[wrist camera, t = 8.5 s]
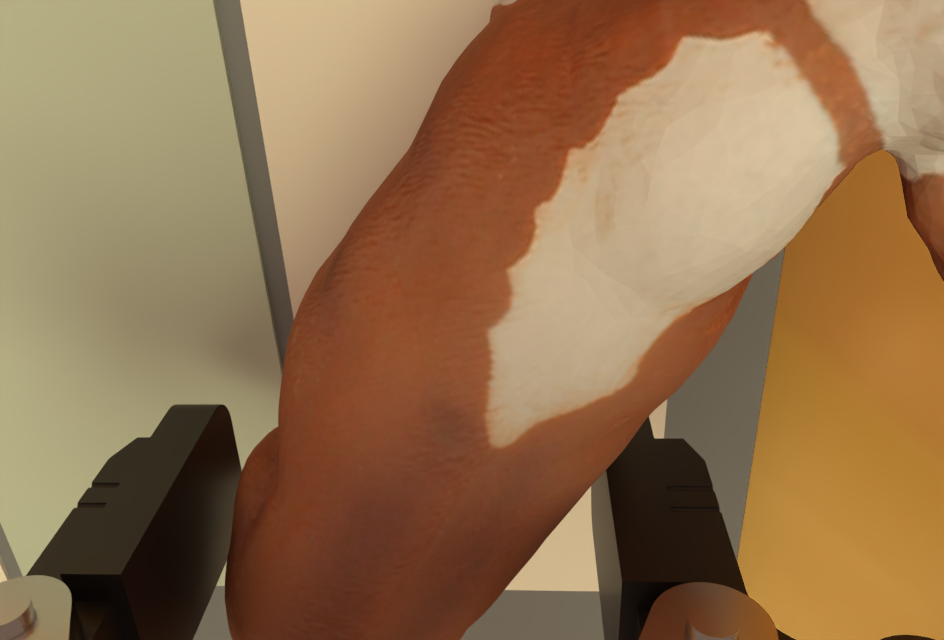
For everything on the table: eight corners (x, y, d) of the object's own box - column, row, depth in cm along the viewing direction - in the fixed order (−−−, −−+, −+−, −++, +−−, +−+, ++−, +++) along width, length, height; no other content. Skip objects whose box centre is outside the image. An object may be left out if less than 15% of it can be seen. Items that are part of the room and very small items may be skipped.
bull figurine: (939, -162, 11) (1610, -71, 4) (422, 458, 18) (368, 892, 11) (689, -391, 10) (1072, -745, 3) (231, 361, 16) (32, 778, 10)
